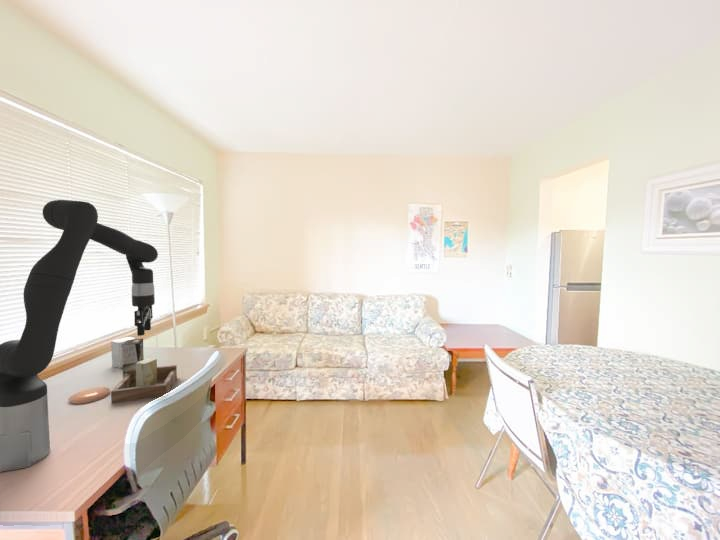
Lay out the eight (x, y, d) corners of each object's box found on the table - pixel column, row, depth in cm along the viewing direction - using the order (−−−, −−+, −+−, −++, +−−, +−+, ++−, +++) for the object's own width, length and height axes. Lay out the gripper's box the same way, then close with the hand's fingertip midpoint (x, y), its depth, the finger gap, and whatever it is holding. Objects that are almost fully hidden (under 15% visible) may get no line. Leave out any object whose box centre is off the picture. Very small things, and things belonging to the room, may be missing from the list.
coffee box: (140, 378, 135) (139, 343, 134) (122, 380, 132) (121, 345, 131) (144, 370, 143) (143, 337, 142) (128, 372, 140) (127, 339, 139)
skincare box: (144, 393, 120) (143, 364, 120) (135, 392, 121) (134, 363, 121) (158, 386, 127) (157, 358, 126) (149, 385, 128) (148, 357, 127)
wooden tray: (166, 395, 119) (166, 381, 118) (111, 403, 112) (110, 387, 112) (176, 377, 136) (176, 364, 135) (129, 383, 129) (128, 369, 129)
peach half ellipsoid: (101, 401, 114) (101, 398, 114) (61, 406, 110) (61, 403, 109) (115, 387, 125) (115, 385, 125) (79, 391, 121) (78, 389, 121)
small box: (129, 361, 155) (128, 336, 154) (137, 362, 153) (136, 337, 152) (111, 366, 147) (110, 340, 146) (120, 368, 145) (119, 342, 144)
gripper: (148, 295, 116) (150, 336, 117) (158, 291, 130) (159, 327, 131) (125, 296, 114) (127, 338, 115) (138, 291, 127) (139, 329, 128)
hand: (144, 332), depth 123 cm, fingers open, 8 cm apart
